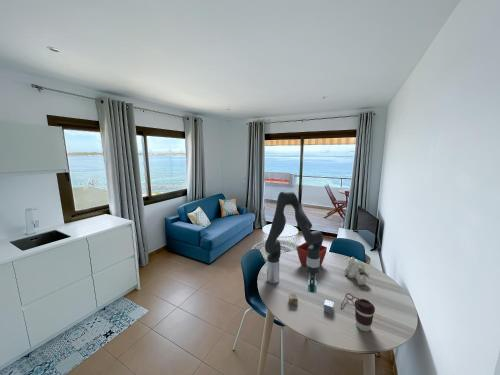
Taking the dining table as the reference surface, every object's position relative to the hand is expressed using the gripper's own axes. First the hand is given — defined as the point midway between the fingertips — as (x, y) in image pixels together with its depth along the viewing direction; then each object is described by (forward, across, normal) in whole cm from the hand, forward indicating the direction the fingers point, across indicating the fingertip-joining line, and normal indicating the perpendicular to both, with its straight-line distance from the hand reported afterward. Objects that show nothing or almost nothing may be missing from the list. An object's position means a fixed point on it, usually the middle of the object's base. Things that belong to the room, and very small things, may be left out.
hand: (312, 289), depth 124 cm
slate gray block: (+16, -5, +10) cm, 20 cm away
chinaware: (+16, -49, +32) cm, 60 cm away
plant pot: (+16, -56, -3) cm, 58 cm away
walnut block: (+16, -5, -12) cm, 21 cm away
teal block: (0, 0, 0) cm, 0 cm away
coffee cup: (+16, +2, +28) cm, 32 cm away
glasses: (+17, -12, +25) cm, 33 cm away
